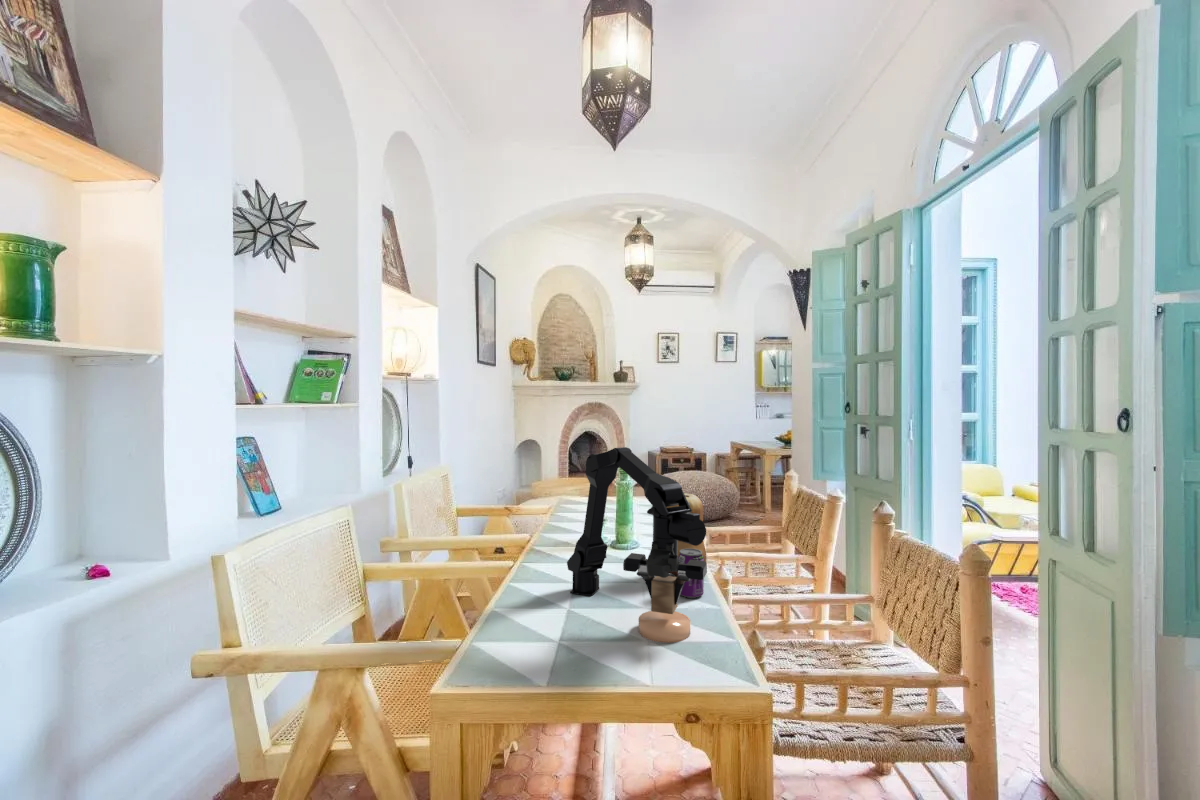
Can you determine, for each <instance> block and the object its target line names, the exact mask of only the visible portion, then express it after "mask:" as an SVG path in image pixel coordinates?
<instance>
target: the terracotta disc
mask: <svg viewBox="0 0 1200 800" xmlns="http://www.w3.org/2000/svg"><path fill="white" fill-rule="evenodd" d="M638 633H639V635H640V636H641V637H643V638H644V639H647V640H649V641H652V642H657V643H664V644H665V643H669V644H671V643H678V642H682V641H684V640H687V639H688V638H689V637H690V635H691V619H690V618H689V617H688V616H687V615H685V614H684V613H681V612H679V611H676V610H675V611H674V613H673V614H667V613H660V612H653V611H651V610H649V611H645V612H643V613H641V614H640V615H639V616H638Z"/></svg>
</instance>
